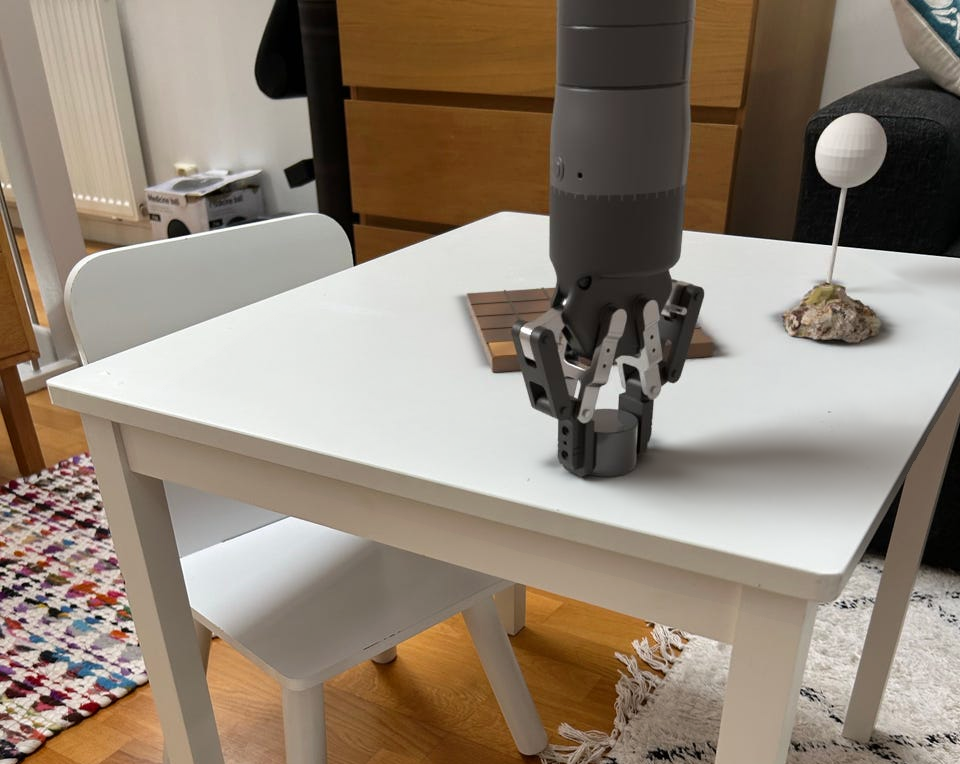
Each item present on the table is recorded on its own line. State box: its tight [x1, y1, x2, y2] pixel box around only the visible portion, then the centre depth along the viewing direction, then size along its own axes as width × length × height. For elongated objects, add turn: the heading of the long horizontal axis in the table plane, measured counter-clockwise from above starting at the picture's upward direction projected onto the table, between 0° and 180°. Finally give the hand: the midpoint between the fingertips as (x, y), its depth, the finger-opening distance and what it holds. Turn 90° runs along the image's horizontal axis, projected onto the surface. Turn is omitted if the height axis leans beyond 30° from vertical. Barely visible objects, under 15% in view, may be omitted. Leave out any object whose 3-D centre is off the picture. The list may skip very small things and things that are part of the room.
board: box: [466, 287, 714, 373], centre depth 86 cm, size 18×18×1 cm
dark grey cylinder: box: [588, 408, 639, 478], centre depth 64 cm, size 4×4×3 cm
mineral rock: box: [781, 281, 884, 344], centre depth 85 cm, size 11×4×8 cm
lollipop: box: [814, 112, 888, 284], centre depth 89 cm, size 6×6×15 cm
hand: (604, 459), depth 64 cm, fingers open, 4 cm apart
